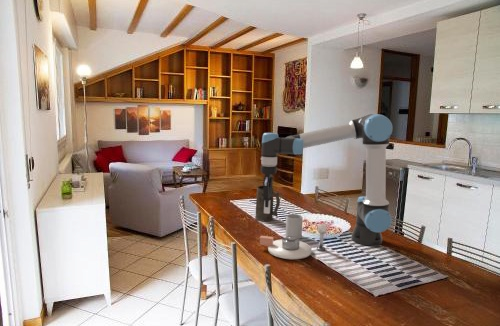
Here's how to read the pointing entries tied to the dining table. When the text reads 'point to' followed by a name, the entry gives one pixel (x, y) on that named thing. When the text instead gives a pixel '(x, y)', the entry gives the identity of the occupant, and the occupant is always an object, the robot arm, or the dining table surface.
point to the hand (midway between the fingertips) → (266, 213)
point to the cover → (290, 243)
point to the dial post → (321, 236)
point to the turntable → (278, 251)
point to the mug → (294, 225)
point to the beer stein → (260, 206)
